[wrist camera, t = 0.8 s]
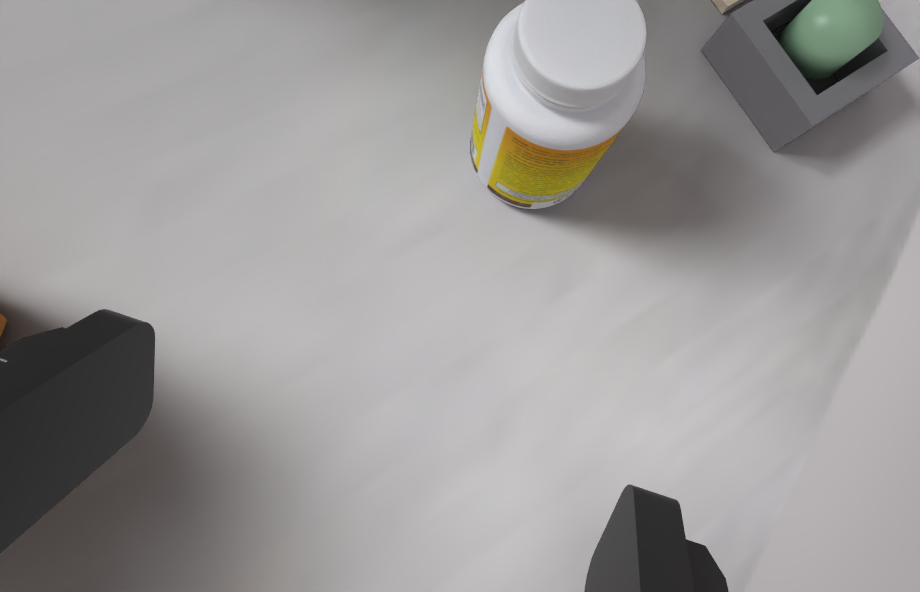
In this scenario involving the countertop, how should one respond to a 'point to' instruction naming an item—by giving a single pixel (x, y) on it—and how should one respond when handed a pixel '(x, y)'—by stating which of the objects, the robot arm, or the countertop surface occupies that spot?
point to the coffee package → (2, 323)
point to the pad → (726, 4)
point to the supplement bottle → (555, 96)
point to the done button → (831, 34)
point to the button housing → (793, 70)
